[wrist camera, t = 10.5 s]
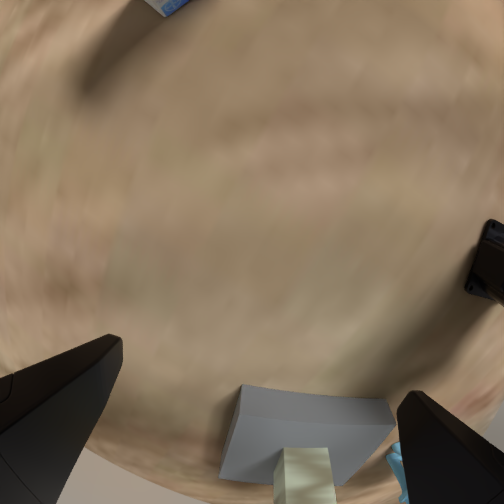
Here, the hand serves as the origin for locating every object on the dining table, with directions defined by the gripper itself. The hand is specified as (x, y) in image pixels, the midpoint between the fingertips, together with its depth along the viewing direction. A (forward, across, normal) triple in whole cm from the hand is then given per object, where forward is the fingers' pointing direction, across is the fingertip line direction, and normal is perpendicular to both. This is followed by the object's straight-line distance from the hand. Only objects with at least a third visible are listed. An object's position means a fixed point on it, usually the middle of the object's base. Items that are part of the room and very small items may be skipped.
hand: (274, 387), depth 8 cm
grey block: (+13, -8, +18) cm, 23 cm away
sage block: (+9, -8, +18) cm, 22 cm away
